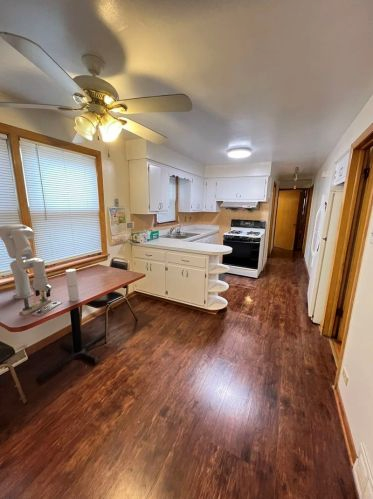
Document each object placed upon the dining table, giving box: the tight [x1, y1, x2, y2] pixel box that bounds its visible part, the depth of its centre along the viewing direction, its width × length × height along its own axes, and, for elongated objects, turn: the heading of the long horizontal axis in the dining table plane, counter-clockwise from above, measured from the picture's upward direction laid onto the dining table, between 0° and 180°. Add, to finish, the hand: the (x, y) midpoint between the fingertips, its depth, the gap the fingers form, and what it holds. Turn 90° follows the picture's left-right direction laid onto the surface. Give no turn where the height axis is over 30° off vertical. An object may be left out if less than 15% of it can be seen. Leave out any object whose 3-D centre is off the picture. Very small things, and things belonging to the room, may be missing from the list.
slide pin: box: [39, 291, 49, 301], centre depth 163 cm, size 5×3×9 cm, turn 79°
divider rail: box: [18, 297, 52, 316], centre depth 157 cm, size 5×22×10 cm, turn 169°
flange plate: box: [31, 300, 63, 317], centre depth 156 cm, size 7×20×1 cm, turn 169°
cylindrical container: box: [65, 268, 80, 302], centre depth 169 cm, size 7×7×25 cm
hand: (43, 296), depth 163 cm, fingers open, 9 cm apart
